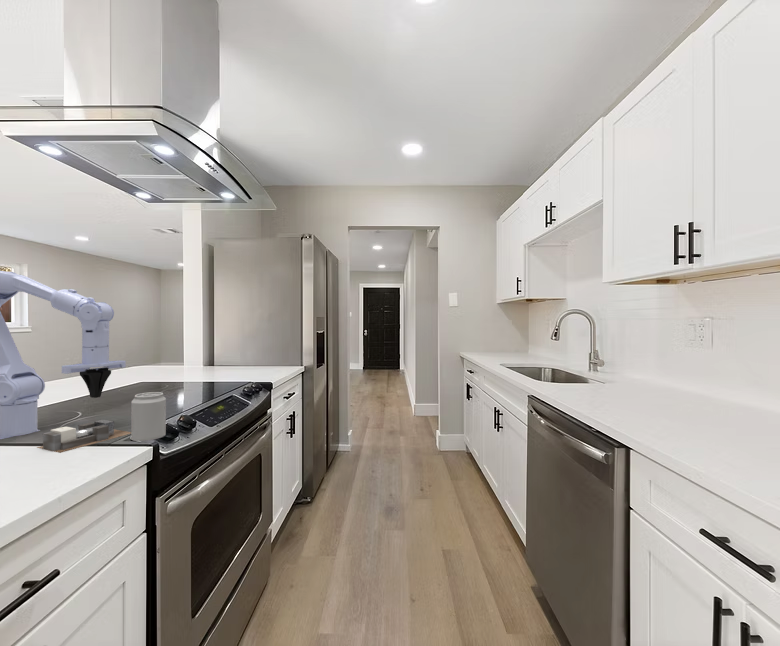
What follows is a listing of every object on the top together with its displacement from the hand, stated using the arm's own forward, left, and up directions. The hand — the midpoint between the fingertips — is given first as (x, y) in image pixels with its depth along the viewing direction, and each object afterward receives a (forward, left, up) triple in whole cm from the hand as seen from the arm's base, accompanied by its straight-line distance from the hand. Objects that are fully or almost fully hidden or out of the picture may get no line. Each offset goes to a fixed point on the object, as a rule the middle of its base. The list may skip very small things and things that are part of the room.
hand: (95, 397), depth 100 cm
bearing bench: (+7, -6, -10) cm, 13 cm away
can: (+18, +2, -10) cm, 21 cm away
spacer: (+7, -11, -9) cm, 16 cm away
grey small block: (+7, -5, -9) cm, 12 cm away
